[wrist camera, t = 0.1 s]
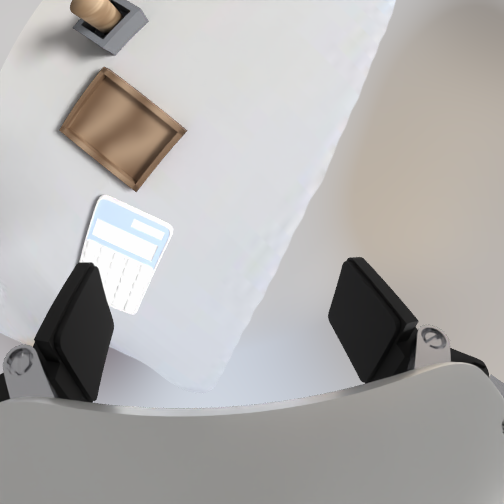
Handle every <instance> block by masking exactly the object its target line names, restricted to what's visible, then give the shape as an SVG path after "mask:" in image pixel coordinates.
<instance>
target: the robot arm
mask: <svg viewBox="0 0 504 504" xmlns="http://www.w3.org/2000/svg"><path fill="white" fill-rule="evenodd" d="M328 318H329V321H330V324H331V325H332V327H333V329H334V331H335V333H336V335H337V336H338V338H339V340H340V342H341V344H342V346H343V348H344V349H345V351H346V353H347V355H348V357H349V359H350V361H351V363H352V365H353V366H354V368H355V370H356V372H357V374H358V376H359V378H360V380H361V381H362V382H365V384H363V385H359V386H355V387H351V388H347V389H343V390H339V391H334V392H329V393H325V394H320V395H314V396H309V397H304V398H298V399H292V400H285V401H279V402H271V403H263V404H254V405H244V406H232V407H218V408H186V409H185V408H179V409H178V408H144V407H130V406H118V405H106V404H98V403H92V402H93V401H95V400H96V399H97V396H98V390H99V386H100V381H101V377H102V372H103V368H104V364H105V360H106V355H107V352H108V348H109V345H110V341H111V337H112V334H113V330H114V322H113V319H112V315H111V312H110V309H109V305H108V302H107V299H106V295H105V291H104V288H103V284H102V280H101V276H100V272H99V268H98V267H97V266H94V264H93V263H92V262H79V263H78V264H77V265H76V266H75V268H74V270H73V271H72V273H71V274H70V276H69V277H68V279H67V281H66V282H65V284H64V285H63V287H62V289H61V290H60V292H59V294H58V296H57V297H56V299H55V301H54V302H53V304H52V306H51V308H50V310H49V311H48V313H47V315H46V317H45V319H44V321H43V323H42V325H41V326H40V328H39V330H38V332H37V334H36V336H35V339H34V340H35V343H34V345H33V347H32V346H30V345H26V344H25V345H19V346H16V347H14V348H13V349H11V350H10V351H9V352H8V353H7V355H6V357H5V358H4V362H3V371H4V373H2V374H0V504H504V383H502V382H501V381H500V380H498V379H497V378H495V377H494V376H492V375H490V376H489V373H488V369H487V367H486V365H485V364H484V362H483V361H481V360H479V359H477V358H474V357H472V356H469V355H467V354H464V353H461V352H459V351H456V350H454V349H452V348H450V342H449V338H448V337H447V335H446V334H445V333H444V332H443V331H442V330H441V329H439V328H438V327H435V326H433V325H423V326H421V327H420V328H419V329H418V330H417V328H416V325H417V323H418V320H417V319H416V317H415V316H414V315H413V314H412V312H411V311H410V310H409V309H408V308H407V306H406V305H405V304H404V303H403V302H402V301H401V300H400V299H399V297H398V296H397V295H396V294H395V293H394V291H393V290H392V289H391V288H390V287H389V286H388V285H387V284H386V282H385V281H384V280H383V279H382V278H381V277H380V276H379V275H378V274H377V273H376V271H375V270H374V269H373V268H372V267H371V266H370V265H369V264H368V263H367V262H366V261H365V260H364V258H362V257H356V258H348V259H347V261H345V262H344V263H343V265H342V269H341V273H340V276H339V280H338V283H337V287H336V290H335V294H334V297H333V300H332V304H331V307H330V310H329V314H328Z"/></svg>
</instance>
